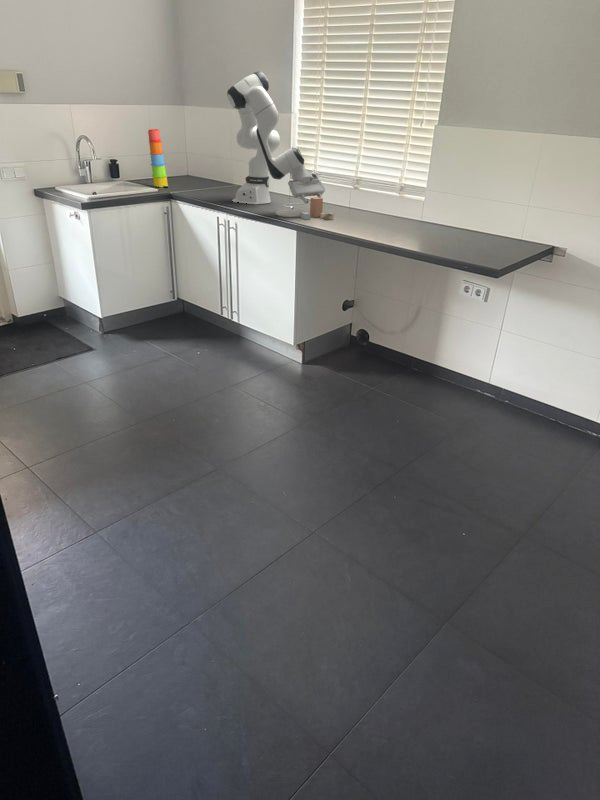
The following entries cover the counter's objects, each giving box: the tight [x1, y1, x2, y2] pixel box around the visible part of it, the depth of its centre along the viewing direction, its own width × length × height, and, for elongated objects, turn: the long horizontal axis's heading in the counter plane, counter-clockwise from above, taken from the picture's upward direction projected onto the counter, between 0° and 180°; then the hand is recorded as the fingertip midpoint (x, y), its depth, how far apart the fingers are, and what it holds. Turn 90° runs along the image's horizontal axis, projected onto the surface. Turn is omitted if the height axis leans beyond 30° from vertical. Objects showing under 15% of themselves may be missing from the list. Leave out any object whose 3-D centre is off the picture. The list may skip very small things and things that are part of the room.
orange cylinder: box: [309, 196, 324, 218], centre depth 293 cm, size 4×4×9 cm
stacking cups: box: [147, 128, 169, 187], centre depth 362 cm, size 10×10×35 cm
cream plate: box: [275, 209, 304, 218], centre depth 297 cm, size 15×15×1 cm
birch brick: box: [319, 212, 335, 220], centre depth 288 cm, size 6×3×3 cm, turn 106°
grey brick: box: [299, 211, 311, 220], centre depth 289 cm, size 6×3×3 cm, turn 24°
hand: (313, 202), depth 293 cm, fingers open, 8 cm apart
